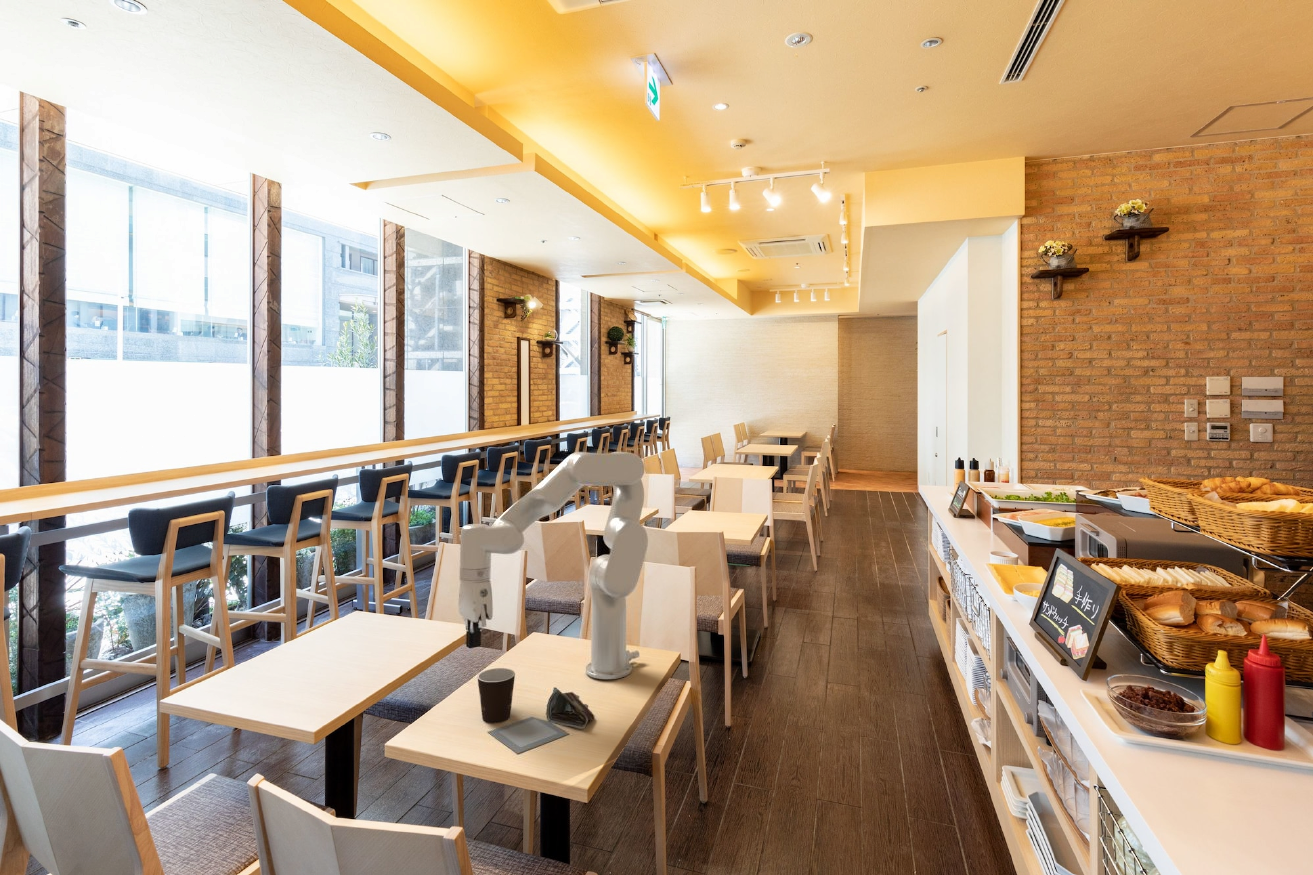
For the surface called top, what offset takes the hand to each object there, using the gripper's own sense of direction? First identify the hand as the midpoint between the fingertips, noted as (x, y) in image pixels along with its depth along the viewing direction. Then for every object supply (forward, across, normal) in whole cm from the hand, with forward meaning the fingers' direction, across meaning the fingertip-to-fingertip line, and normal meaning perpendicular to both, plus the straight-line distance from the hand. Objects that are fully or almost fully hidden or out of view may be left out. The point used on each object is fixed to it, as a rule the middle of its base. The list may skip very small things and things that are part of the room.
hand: (473, 646), depth 160 cm
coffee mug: (+13, -12, -1) cm, 18 cm away
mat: (+13, -25, -1) cm, 28 cm away
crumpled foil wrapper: (+15, -31, -12) cm, 37 cm away
